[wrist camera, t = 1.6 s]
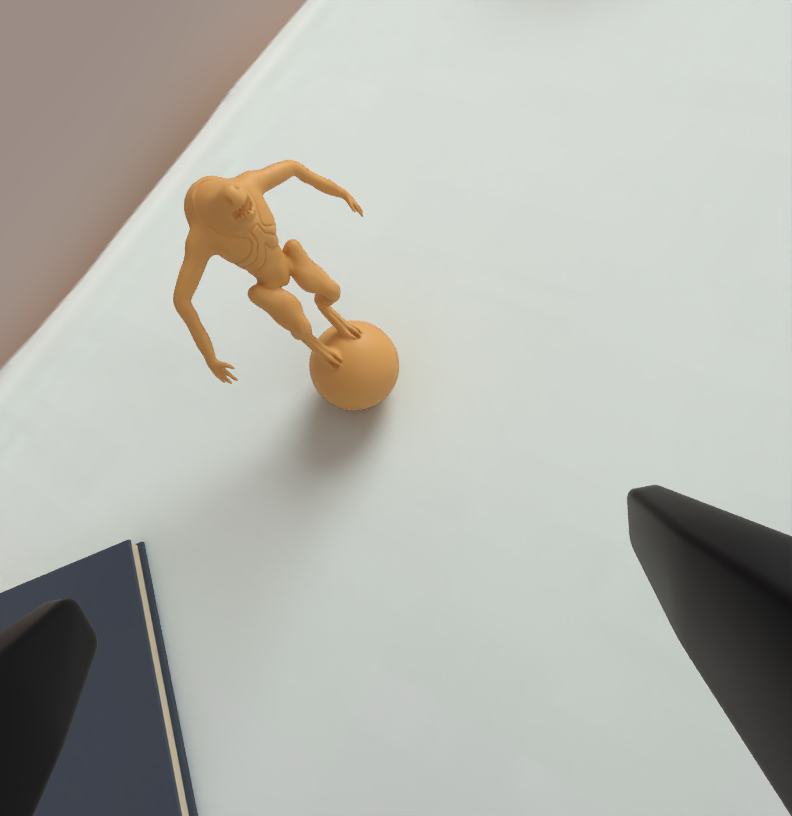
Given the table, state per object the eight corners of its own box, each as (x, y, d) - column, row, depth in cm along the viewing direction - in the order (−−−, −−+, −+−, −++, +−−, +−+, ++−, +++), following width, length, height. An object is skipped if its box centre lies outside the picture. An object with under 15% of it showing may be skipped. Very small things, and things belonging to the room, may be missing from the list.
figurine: (347, 476, 24) (234, 370, 12) (249, 411, 25) (72, 268, 14) (443, 333, 25) (421, 128, 14) (345, 282, 27) (256, 63, 16)
